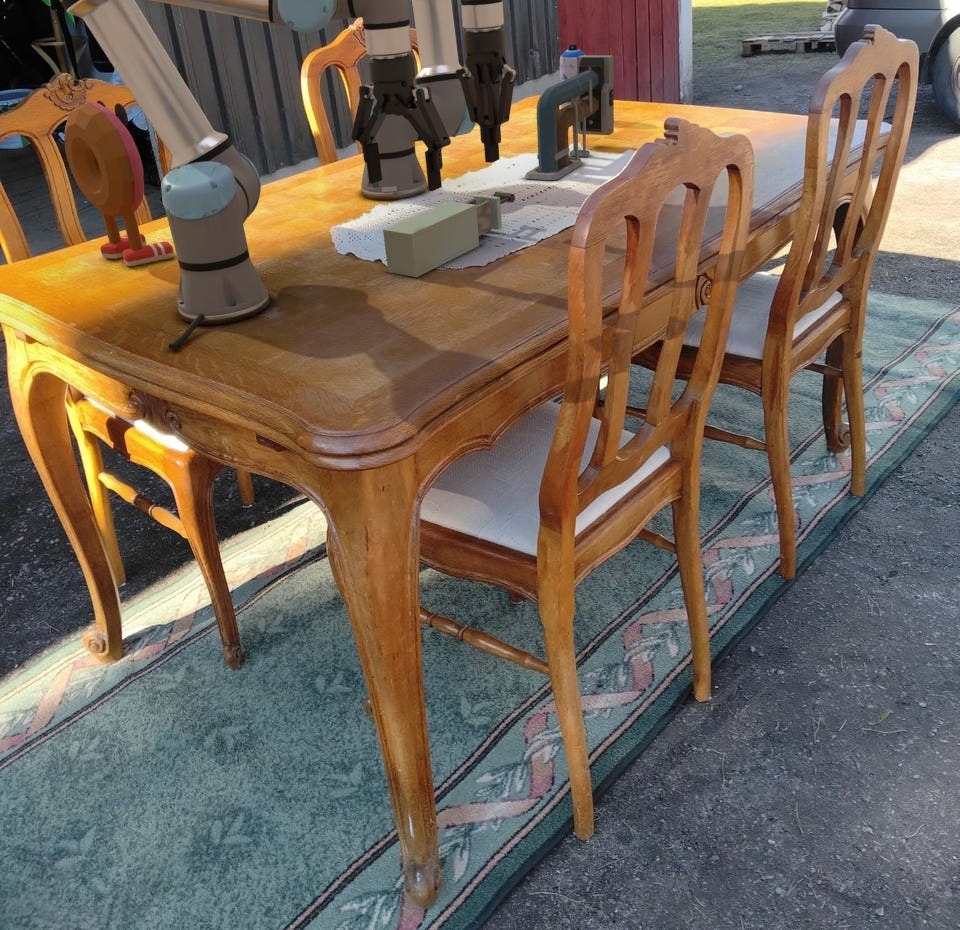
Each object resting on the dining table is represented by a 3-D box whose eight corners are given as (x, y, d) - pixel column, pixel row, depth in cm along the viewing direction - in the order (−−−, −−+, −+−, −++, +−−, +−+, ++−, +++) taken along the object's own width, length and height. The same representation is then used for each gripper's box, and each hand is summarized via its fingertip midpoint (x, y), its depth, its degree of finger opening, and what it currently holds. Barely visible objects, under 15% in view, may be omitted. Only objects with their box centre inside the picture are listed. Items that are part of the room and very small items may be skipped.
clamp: (556, 180, 222) (553, 82, 211) (522, 178, 225) (517, 81, 215) (613, 144, 247) (613, 55, 237) (582, 143, 251) (580, 55, 240)
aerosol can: (559, 122, 275) (557, 47, 265) (562, 117, 282) (559, 42, 272) (587, 121, 274) (585, 45, 263) (589, 115, 280) (587, 41, 270)
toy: (187, 258, 192) (149, 99, 177) (141, 273, 186) (98, 110, 171) (132, 241, 205) (93, 92, 190) (88, 254, 199) (43, 101, 184)
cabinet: (451, 241, 189) (447, 201, 185) (479, 245, 186) (476, 204, 182) (388, 272, 176) (382, 229, 172) (416, 277, 173) (411, 234, 169)
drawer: (496, 216, 198) (494, 186, 195) (519, 219, 195) (517, 189, 192) (423, 252, 182) (419, 219, 179) (446, 255, 179) (443, 223, 176)
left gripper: (464, 52, 154) (474, 186, 165) (349, 50, 167) (366, 173, 178) (435, 60, 149) (448, 198, 160) (319, 57, 162) (338, 184, 173)
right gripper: (524, 25, 175) (531, 158, 187) (467, 25, 182) (476, 153, 194) (501, 32, 170) (509, 168, 182) (442, 31, 177) (454, 162, 189)
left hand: (404, 185), depth 169 cm, fingers open, 13 cm apart
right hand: (492, 160), depth 188 cm, fingers closed
